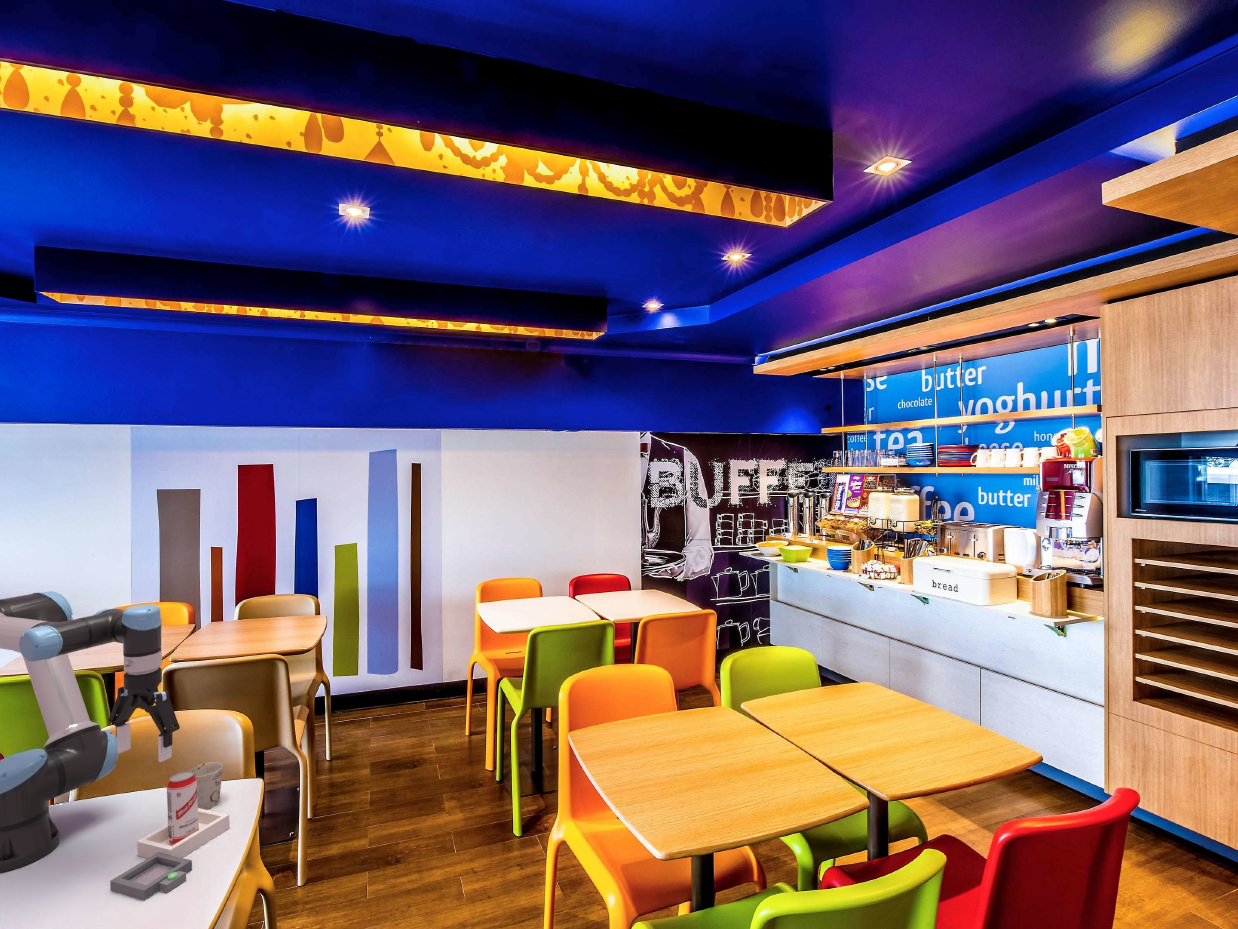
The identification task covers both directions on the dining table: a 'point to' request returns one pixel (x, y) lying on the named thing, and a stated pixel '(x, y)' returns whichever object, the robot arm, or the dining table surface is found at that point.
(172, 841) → the beer can
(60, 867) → the dining table surface
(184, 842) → the cream rectangular tray
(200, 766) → the mug
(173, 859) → the frame
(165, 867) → the plate
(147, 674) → the robot arm
